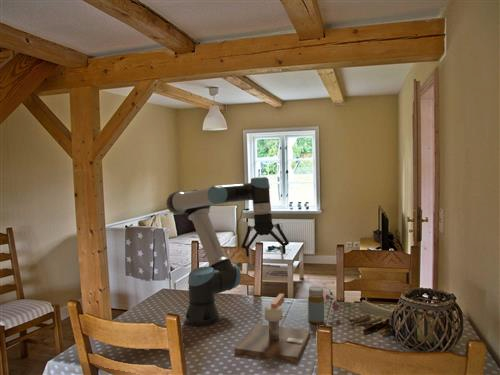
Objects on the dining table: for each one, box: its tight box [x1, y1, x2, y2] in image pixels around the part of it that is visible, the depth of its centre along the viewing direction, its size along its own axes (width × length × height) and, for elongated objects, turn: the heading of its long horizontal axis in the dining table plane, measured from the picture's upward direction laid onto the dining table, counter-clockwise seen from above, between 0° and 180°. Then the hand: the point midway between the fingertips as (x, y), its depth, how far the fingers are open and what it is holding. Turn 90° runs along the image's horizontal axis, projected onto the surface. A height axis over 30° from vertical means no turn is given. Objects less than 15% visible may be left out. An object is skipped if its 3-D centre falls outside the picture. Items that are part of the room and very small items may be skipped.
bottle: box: [307, 286, 325, 325], centre depth 180 cm, size 7×7×15 cm
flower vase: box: [325, 288, 394, 320], centre depth 181 cm, size 12×12×35 cm
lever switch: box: [264, 293, 285, 322], centre depth 163 cm, size 16×7×6 cm, turn 161°
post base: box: [234, 321, 311, 363], centre depth 159 cm, size 24×24×10 cm
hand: (266, 263), depth 172 cm, fingers open, 13 cm apart
